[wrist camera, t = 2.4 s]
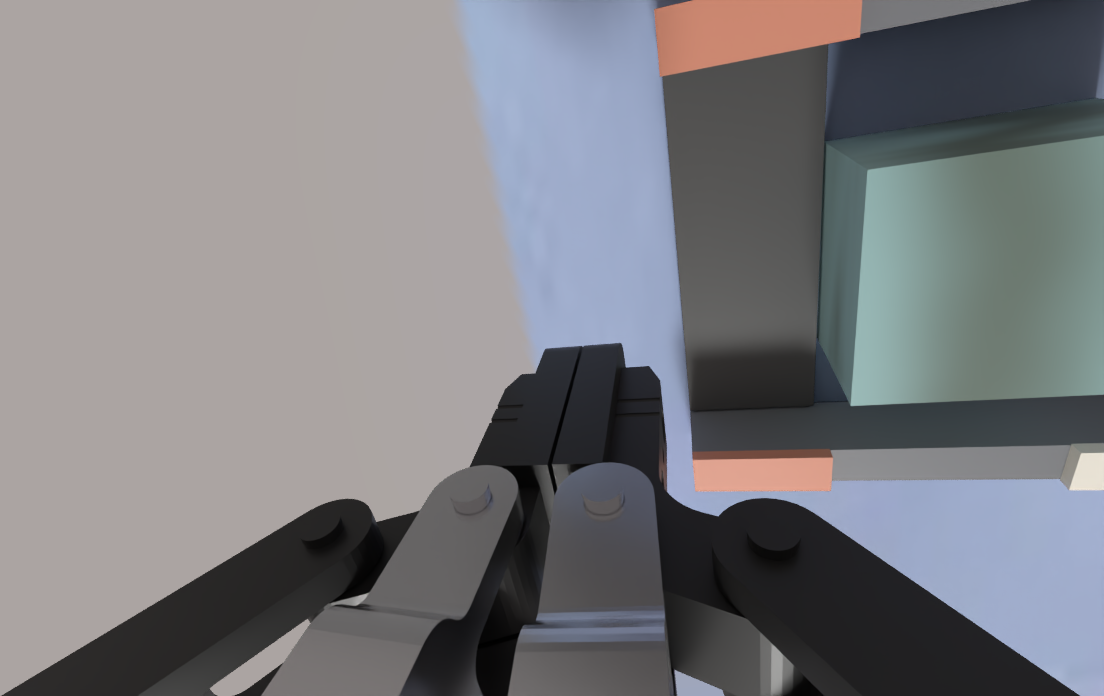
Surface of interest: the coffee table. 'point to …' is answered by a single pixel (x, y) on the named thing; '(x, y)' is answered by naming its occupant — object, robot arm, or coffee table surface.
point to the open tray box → (805, 270)
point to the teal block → (966, 258)
